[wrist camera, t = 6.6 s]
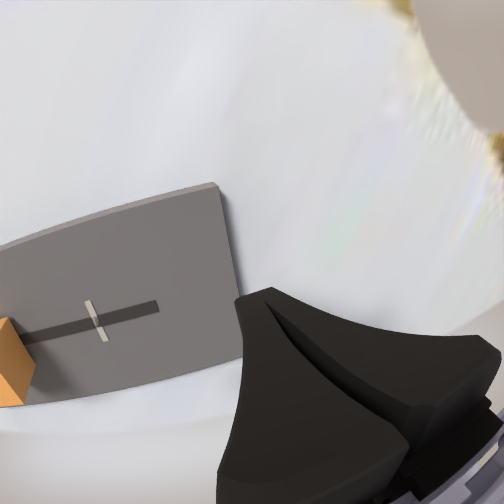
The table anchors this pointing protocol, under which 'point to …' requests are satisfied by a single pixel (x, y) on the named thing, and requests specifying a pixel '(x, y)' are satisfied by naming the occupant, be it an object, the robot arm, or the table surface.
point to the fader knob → (13, 366)
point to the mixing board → (124, 295)
